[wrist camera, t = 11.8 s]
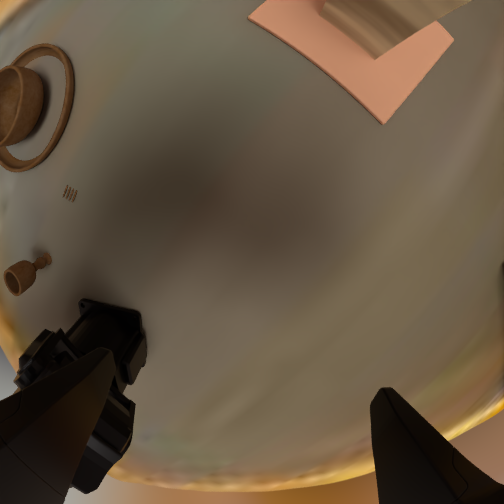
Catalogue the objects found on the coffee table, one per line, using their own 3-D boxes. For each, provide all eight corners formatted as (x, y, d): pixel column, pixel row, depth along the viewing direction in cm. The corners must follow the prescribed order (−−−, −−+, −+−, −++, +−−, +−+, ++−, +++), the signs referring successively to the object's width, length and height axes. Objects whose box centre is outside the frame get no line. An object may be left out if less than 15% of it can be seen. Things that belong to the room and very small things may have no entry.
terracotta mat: (381, 124, 17) (384, 124, 16) (247, 19, 14) (247, 17, 14) (451, 40, 13) (454, 39, 13) (340, -51, 11) (341, -53, 10)
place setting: (131, 63, 16) (90, 41, 10) (63, 277, 23) (27, 307, 17) (14, 42, 14) (-22, 35, 8) (-27, 209, 20) (-60, 223, 15)
